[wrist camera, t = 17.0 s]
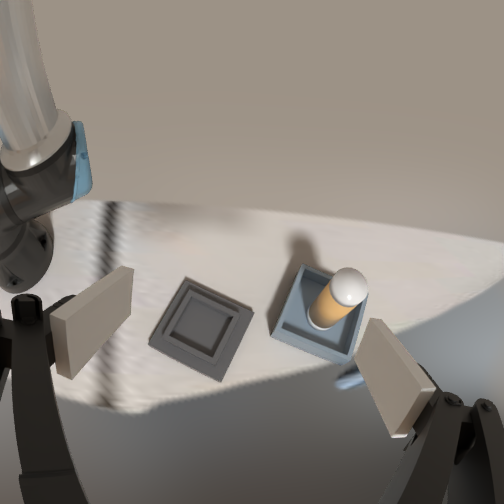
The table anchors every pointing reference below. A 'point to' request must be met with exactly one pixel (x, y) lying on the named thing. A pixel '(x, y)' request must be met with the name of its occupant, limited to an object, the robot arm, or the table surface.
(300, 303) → the parts tray
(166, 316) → the block
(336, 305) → the ball
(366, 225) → the table surface
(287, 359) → the table surface
